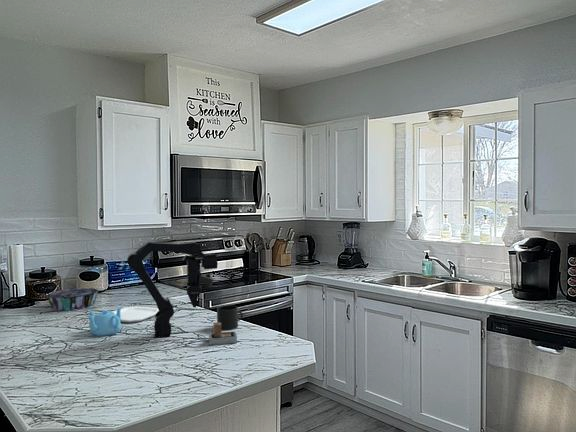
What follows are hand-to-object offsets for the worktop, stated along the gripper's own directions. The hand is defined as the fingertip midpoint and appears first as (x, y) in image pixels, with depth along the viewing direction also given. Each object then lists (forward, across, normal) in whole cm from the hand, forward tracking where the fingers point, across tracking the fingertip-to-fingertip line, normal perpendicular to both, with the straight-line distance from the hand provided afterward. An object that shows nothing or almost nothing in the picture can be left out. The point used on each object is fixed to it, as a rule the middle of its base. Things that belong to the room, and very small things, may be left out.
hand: (194, 305), depth 207 cm
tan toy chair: (+12, -17, -10) cm, 23 cm away
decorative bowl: (+12, +69, +66) cm, 97 cm away
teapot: (+12, +10, +40) cm, 43 cm away
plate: (+12, +37, +31) cm, 50 cm away
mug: (+12, +4, -16) cm, 21 cm away
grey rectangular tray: (+12, -17, -11) cm, 23 cm away
